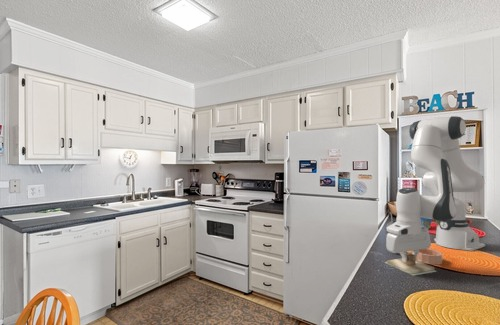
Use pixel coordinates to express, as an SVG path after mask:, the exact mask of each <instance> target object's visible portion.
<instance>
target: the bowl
mask: <svg viewBox="0 0 500 325" xmlns="http://www.w3.org/2000/svg"><path fill="white" fill-rule="evenodd" d="M416 261H419V262H422V263H424V264H427V265H435V266H436V265H441V264H443V253H442V252H441V251H439V250H436V249H432V248H427V249H420V250H419V253H418V255H417V260H416Z"/></svg>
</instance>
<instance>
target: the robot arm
mask: <svg viewBox="0 0 500 325" xmlns="http://www.w3.org/2000/svg"><path fill="white" fill-rule="evenodd" d="M466 129H467V126H466V122H465V120H464V119H463V118H462V117H461V116H453V115H452V116H442V117H440V116H439V117H434V118H429V119H424V120H417V121H414V122H413V123H411V125H410V126H409V131H408V132H409V137H410V138H411V140H412V142H411V151H410V159H411V161H412V163H413V164H414V165H416V166H417V167H419V168H421V169H423V170H426V171H427V172H425V173H424V175H422V179H421V181H422V185H423V186H424V187H425V189H427V190H428V191H429V192H431V193H432V194H433V195H424V194H420V191H419V189H417V188H414V187H403V188H400V189H398V190H397V193H396V201H395V207H396V208H395V209H396V213H397V214H396V220H395V221H396V222H395V223H393V224H392V225H390V226H388V227H387V232H389V233H388V234H387V233H386V242H385V243H386V244H385V246H386V250H387V251H388V252H389V251H390V252H392V253H400V254H399V255H400V257H401V258H402V261H404V262H408V257H406V255H405V254H406V253H408V252H412V253H411V254H414V255H415V260H416V261H417V255H418V253H419V250H420V249H431V246H432V242H431V234H430V232H429V229H428V228H427V227H426V226H421V218H427V219H432V220H434V221H436V220H437V221H438V224H437V225H436V232H435V237H434V238H433V240H434V242H435V244H436V245H438V246H440V247H444V248H448V249H454V250H463V251H476V250H479V249H481V248H484V247H486V244H485V243H483V242H480V238H479V234H478V233H477V232H476V231H475V230H473V229H472V228H471V227H470V226H469V224H472V223H473V220H472V219H468V218H466V204H465V202H463V201H462V200H460V199H458V198H456V197H454V193H477V192H479V191H481V190H482V189H483V188H484V186H485V179H484V177H483V175H482V174H481V173H479V172H478V171H476V170H474V169H472V168H471V167H470V166H468V165H467V164H466V163H465V161H464V159H463V156H462V152H461V146H460V140H459V139H461V138H462V137H463V136H464V135H465V133H466ZM420 217H421V218H420Z"/></svg>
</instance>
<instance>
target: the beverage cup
mask: <svg viewBox="0 0 500 325" xmlns="http://www.w3.org/2000/svg"><path fill="white" fill-rule="evenodd" d="M390 217H391V218H390V219H391V221H389V222H387V223H386V226H385V233H386V235H387V234H388V233H389V232H387V227H388V226H390V225H392V224H393V223H395V222H396V220H394V219H393V214H392V211H390ZM388 253H389V254H392V255H401V254H400V253H392V252H390V251H388Z"/></svg>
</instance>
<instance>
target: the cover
mask: <svg viewBox="0 0 500 325" xmlns="http://www.w3.org/2000/svg"><path fill="white" fill-rule="evenodd" d="M405 255H406V257H408V262H404V261H402V257H401V258H395V259H388V260H386V261H385V262H386V263H385V264H387V263H389V264H391V265H393V266H395V267H397V268H396V269H398V268H400V269H402V270H404V271H406V272H408V273H407V274H409V273H411V274H413V273H418V272H424V271H429V270H435V267H434V266H432V265H430V264H426V263H422V262H419V261H417V260H415V255H414V254H412V253H411V252H406V254H405ZM389 264H388V265H389ZM391 265H390V266H391ZM393 266H392V267H393ZM395 267H394V268H395ZM400 269H399V270H400ZM402 270H401V271H402ZM404 271H403V272H404ZM435 271H436V270H435ZM406 272H405V273H406ZM411 274H410V275H411Z"/></svg>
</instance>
